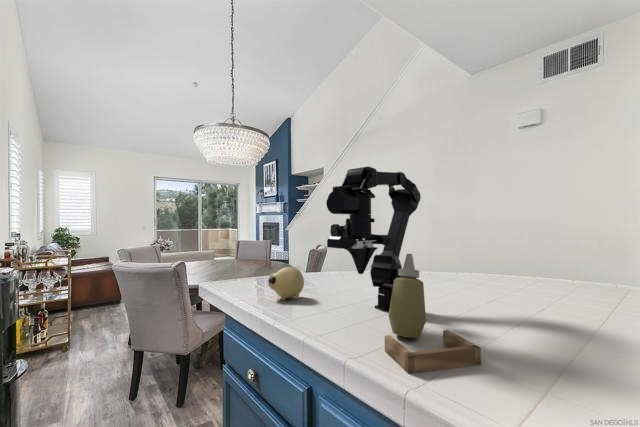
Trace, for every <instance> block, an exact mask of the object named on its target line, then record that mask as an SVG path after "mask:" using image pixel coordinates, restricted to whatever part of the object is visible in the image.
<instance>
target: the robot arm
mask: <svg viewBox="0 0 640 427" xmlns="http://www.w3.org/2000/svg"><path fill="white" fill-rule="evenodd" d="M377 186H388V196H389V198H390V199H391V202H390V203H391V206H392V209H393V214H392V218H391V221H390V225H389V228H388V231H387V234H376V233H372V223H375V218H372V199H375V198H376V195H375V193H374V192H372V190H371V189H372V188H373V189H374V188H375V187H377ZM395 186H401V187H402V188H400V189H399V188H397V189H395ZM420 201H421V192H420V190H419V188H418V187H417V185H416V184H415V182H413V181H411V180H410V179H409V178H408V177H407V176H406V174H405V173H404V172H401V171H395V172H393V171H391V172H390V171H378V170H377V169H376V168H374V167H372V166H362V167H357V168H350V169H348V170H347V171H346V174H345V177H344V178H343V180H342V182H341V184H340V185H334V186H332V191H331V192H330V193H329V194H328V197H327V200H326V208H327V210H328V212H330V213H331V214H333V215H349V218H346V220H345V224H344V225H339V223H333V224H331V225H330V236H329V237H328V238H327V240H326V248H329V249H330V248H331V249H332V248H333V249H341V250H342V249H344V250H345V251H347V252H349V254H350V255H351V257H352V259H353V263H354V265H355V268H356V271H357V274H359V275H363V274H364V273H365V271H366V268H367V266H368V265H369V262H370V260H371V258H372V257H373V260H372V262H371V265H370V272H369V274H370V278H371V282H372V286H373V287H375V288H376V287H377V288H378V290H377V292H378V293H377V304H376V305H374V308H375V309H378V310H382V311H385V312H388V313H389V309H390V302H391V296H392V289H393V282H394V280H395V279H396V278H399V277H401V276H398V269H403V267H402V264H401V261H400V254H401V250H402V246H403V241H404V238H405V235H406V230H407V227H408V223H409V219H410V216H412V214H413V213H414V212H416V210H417V209H418V206H419V203H420ZM374 245H383V250H382V252H381V253H380V254H375V255H374V253H375V251H376V250H378V247H375V246H374ZM373 255H374V256H373Z"/></svg>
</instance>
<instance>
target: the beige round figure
mask: <svg viewBox="0 0 640 427" xmlns="http://www.w3.org/2000/svg"><path fill="white" fill-rule="evenodd" d="M267 285H268V287H269V288H270V289H271V290H272V291H274V292H275V294H277V296H279V297H280V300H281V301H285V300H286V299H291V298H294V297H295V298H299V297H300V294H301V293H302V291H303V289H304V287H305V278H304V276H303V274H302V272H301V271H300V270H299V269H298V268H296V267H292V266H287V267H283V268H281V269H279V270H277V272H273V273H271V274H270V275H269V277H268V278H267Z"/></svg>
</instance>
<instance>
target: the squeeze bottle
mask: <svg viewBox="0 0 640 427" xmlns="http://www.w3.org/2000/svg"><path fill="white" fill-rule="evenodd" d="M398 276H401V277H399V278H396V279H395V280H394V282H393V289H392V296H391V302H390V309H389V312H388V318H389V324H390V327H391V328H390V329H391V332H392V333H393V334H395V335H397V336H399V337H400V336H401V337H405V338H411V339H412V338H421V336H422V333H423V330H424V327H425V325H426V322H427V316H426V315H427V314H426V302H425V300H426V299H425V288H424V282H423V281H422V280H421V279H420V270H418V269H415V263H414V256H413V254H412V253H406V256H405V260H404V263H403V267H402V269H398ZM418 278H419V279H418Z"/></svg>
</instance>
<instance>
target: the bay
mask: <svg viewBox="0 0 640 427" xmlns="http://www.w3.org/2000/svg"><path fill="white" fill-rule="evenodd" d="M442 341H443V342H442V345H443V346H444V347H446V348H437V349H436V348H435V349H434V348H433V349H425V350H418V351H410V350H409V349H408V348H406V346H404V345H403V344H402V343H400V341H398V340H396V338H394V337H393V336H392V335H389V334H388V335H387V334H386V335H384V352H385V353H386V354H387V355H388V356H389V357H390V358H391V359H392V360H393V361H394V362H396V364H398V365H399V367H401V369H403V370H404V372H406V373H407V374H415V373H416V374H417V373H424V372H425V373H426V372H431V371H438V370H439V371H440V370H447V369H456V368H462V367H470V366H471V367H472V366H479V365H481V364H482V354H481V353H482V352H481V350H482V349H481V346H478V345H476V344H475V343H473V342H472V341H470V340H467V339H466V338H464V337H462V336H460V335H458V334H456V333H455V332H453V331H451V330H449V329H444V330H442Z"/></svg>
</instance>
